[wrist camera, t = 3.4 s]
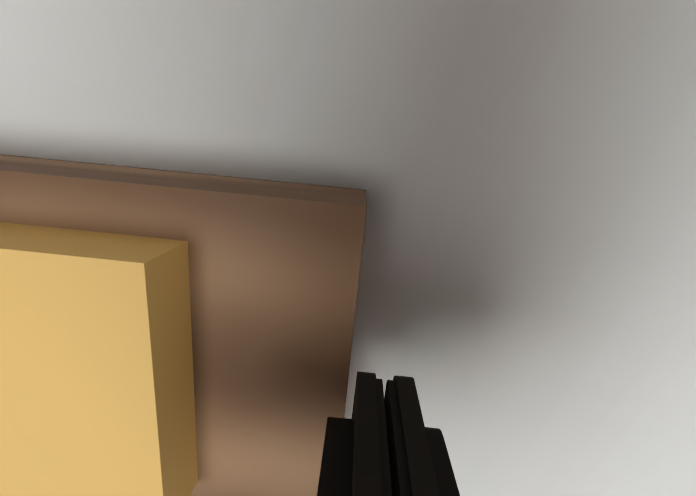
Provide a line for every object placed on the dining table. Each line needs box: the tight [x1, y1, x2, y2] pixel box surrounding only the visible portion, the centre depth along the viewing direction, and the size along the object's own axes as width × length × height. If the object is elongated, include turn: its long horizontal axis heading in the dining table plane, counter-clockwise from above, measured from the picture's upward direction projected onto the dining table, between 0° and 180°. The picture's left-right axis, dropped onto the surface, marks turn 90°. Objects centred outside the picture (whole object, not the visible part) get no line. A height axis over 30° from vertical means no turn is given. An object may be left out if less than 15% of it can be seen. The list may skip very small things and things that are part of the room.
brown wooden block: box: [0, 154, 367, 496], centre depth 13 cm, size 12×20×4 cm, turn 85°
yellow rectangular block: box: [0, 222, 198, 496], centre depth 10 cm, size 9×6×2 cm, turn 175°
